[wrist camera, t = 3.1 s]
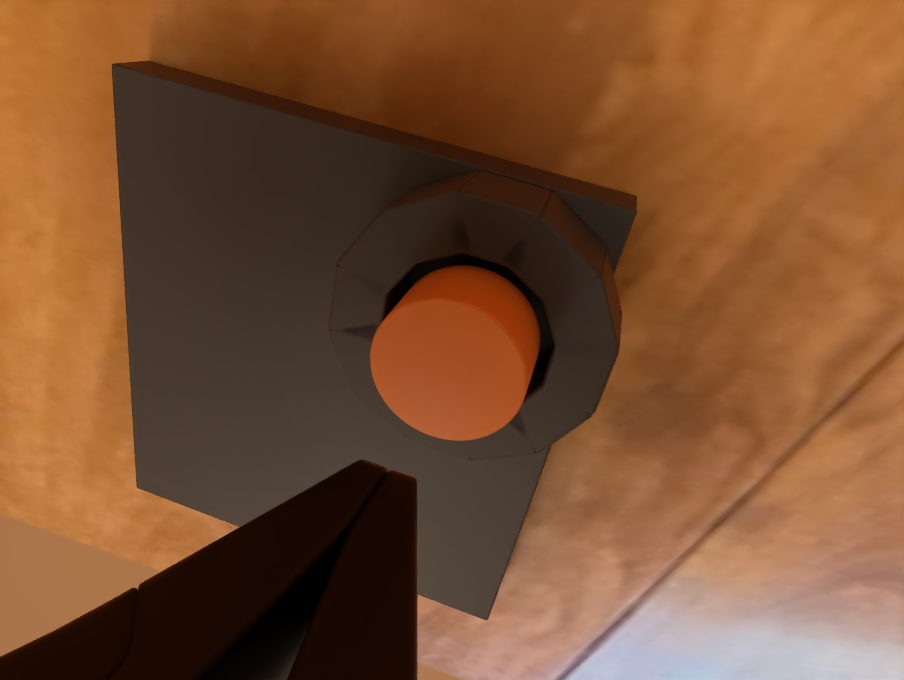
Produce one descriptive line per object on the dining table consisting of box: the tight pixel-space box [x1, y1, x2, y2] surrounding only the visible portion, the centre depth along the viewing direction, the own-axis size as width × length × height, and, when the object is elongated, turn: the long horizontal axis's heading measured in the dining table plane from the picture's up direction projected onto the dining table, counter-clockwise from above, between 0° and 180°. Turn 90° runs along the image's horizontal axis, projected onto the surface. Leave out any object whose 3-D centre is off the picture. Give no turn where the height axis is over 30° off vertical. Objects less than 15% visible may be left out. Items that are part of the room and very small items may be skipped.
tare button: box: [370, 265, 540, 441], centre depth 12 cm, size 3×3×2 cm
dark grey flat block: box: [112, 61, 637, 620], centre depth 16 cm, size 13×12×3 cm
